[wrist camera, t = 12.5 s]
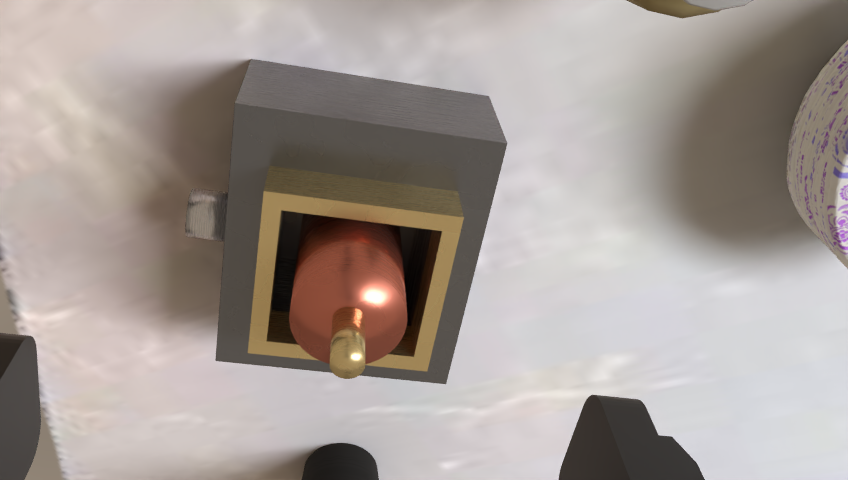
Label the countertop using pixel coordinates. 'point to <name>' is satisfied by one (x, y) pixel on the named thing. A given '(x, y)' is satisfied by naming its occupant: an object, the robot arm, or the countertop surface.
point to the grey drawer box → (350, 204)
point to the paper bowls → (823, 156)
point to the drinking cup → (340, 464)
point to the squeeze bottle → (688, 6)
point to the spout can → (348, 292)
